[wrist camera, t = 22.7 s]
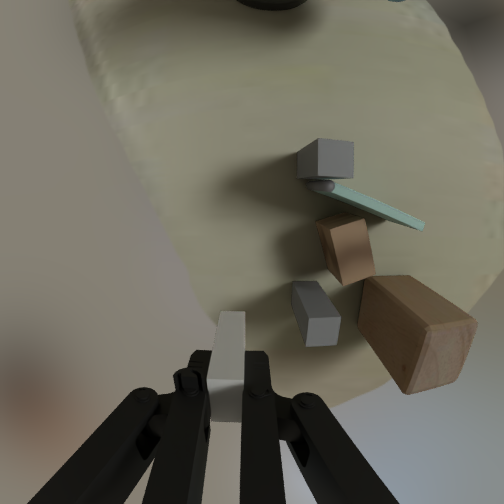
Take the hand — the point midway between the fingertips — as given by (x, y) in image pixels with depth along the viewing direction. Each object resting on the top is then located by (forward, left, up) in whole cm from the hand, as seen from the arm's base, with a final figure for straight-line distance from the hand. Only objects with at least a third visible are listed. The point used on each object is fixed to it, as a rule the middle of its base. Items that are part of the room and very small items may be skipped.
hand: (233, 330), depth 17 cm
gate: (-7, +17, -26) cm, 32 cm away
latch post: (+8, +10, -26) cm, 29 cm away
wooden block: (+10, +25, -27) cm, 38 cm away
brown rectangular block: (-1, +15, -27) cm, 30 cm away
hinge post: (-12, +10, -26) cm, 31 cm away
